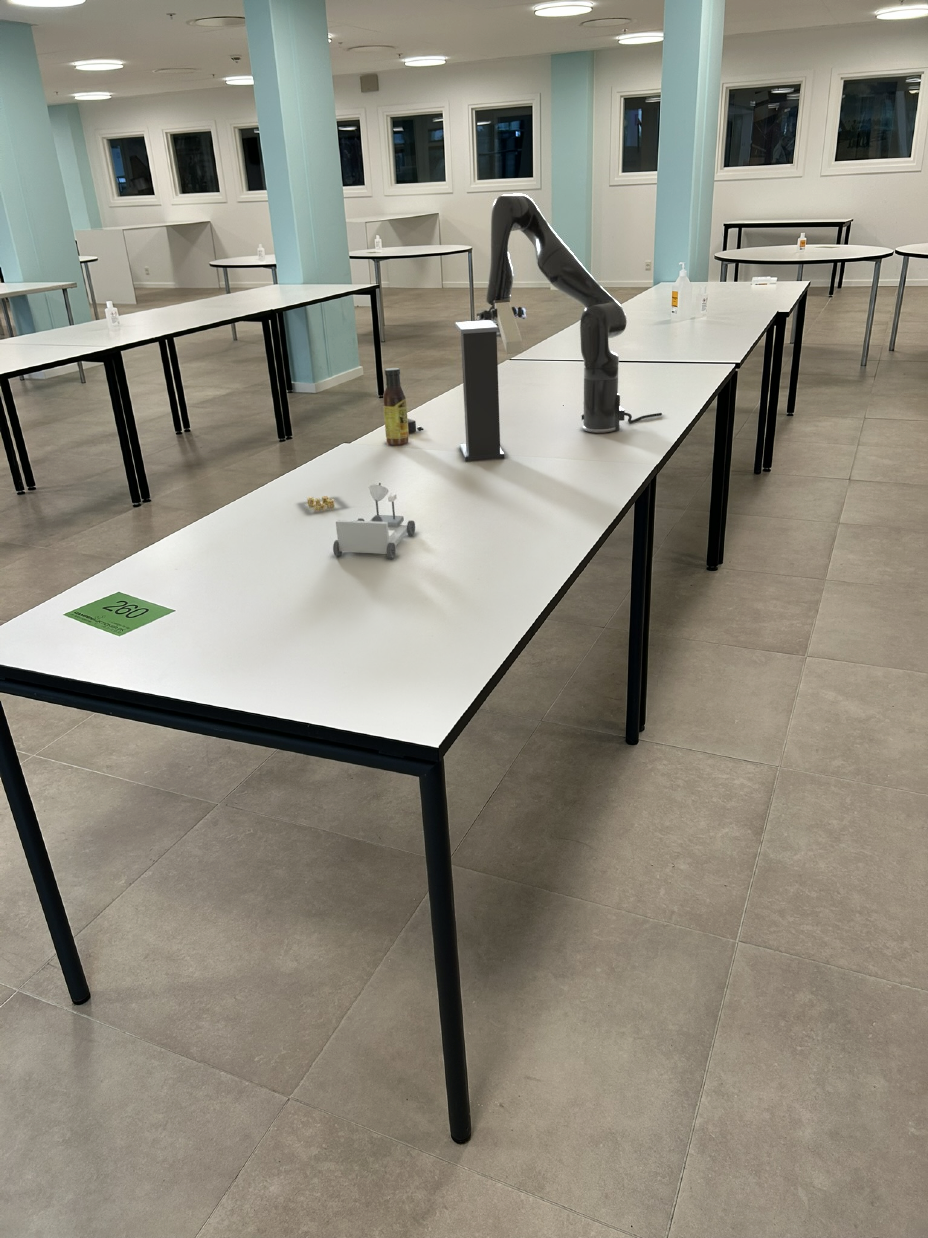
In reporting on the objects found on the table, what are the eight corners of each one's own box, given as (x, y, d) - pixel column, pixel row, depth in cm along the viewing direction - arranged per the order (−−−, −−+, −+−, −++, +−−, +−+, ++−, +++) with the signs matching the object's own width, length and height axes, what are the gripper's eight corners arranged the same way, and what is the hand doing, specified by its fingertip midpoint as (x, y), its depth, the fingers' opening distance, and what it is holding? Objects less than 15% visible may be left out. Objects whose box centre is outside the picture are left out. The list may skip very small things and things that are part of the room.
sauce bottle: (405, 446, 242) (400, 371, 234) (383, 445, 244) (377, 371, 235) (412, 439, 248) (406, 366, 240) (390, 439, 249) (384, 366, 241)
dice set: (307, 506, 201) (306, 497, 200) (329, 502, 203) (328, 494, 202) (313, 512, 197) (312, 504, 196) (335, 508, 198) (334, 500, 198)
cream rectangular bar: (509, 311, 240) (509, 298, 238) (523, 352, 222) (522, 339, 220) (494, 312, 240) (493, 300, 238) (506, 354, 222) (505, 341, 220)
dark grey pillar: (497, 445, 238) (493, 319, 225) (504, 458, 227) (500, 326, 213) (459, 448, 238) (453, 322, 224) (465, 461, 226) (458, 329, 212)
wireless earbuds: (410, 434, 254) (410, 423, 252) (396, 430, 259) (395, 419, 257) (424, 431, 256) (423, 420, 255) (409, 427, 261) (408, 416, 260)
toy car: (361, 479, 182) (416, 481, 179) (366, 525, 186) (419, 528, 184) (327, 508, 167) (386, 511, 164) (333, 557, 171) (391, 561, 168)
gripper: (472, 307, 249) (476, 299, 232) (522, 302, 249) (530, 293, 233) (474, 335, 251) (479, 329, 234) (525, 330, 251) (533, 324, 234)
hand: (505, 311), depth 233 cm, fingers closed on cream rectangular bar, 4 cm apart
